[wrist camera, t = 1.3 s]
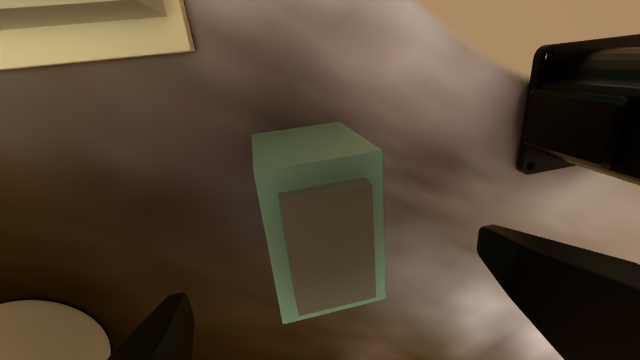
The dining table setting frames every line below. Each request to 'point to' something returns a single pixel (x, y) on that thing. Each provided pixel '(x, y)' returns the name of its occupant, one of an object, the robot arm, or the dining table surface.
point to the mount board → (89, 31)
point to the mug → (49, 332)
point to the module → (321, 217)
